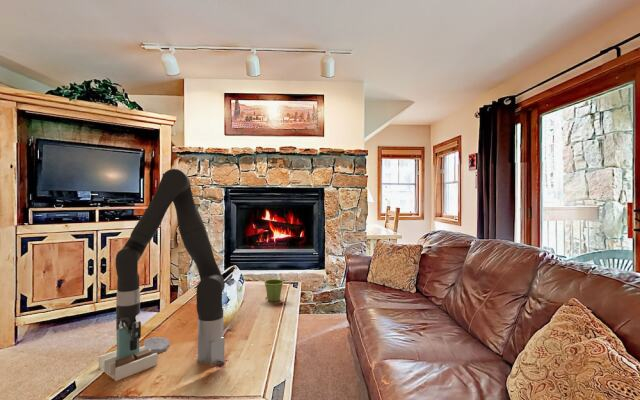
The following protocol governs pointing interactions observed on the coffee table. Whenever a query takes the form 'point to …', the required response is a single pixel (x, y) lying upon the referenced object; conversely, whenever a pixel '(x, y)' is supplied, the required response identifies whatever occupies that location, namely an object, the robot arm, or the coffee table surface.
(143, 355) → the offcut
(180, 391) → the coffee table surface
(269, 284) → the plant pot
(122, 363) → the offcut
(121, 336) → the sheet
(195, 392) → the coffee table surface
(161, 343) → the stone block
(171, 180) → the robot arm
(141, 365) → the rack
